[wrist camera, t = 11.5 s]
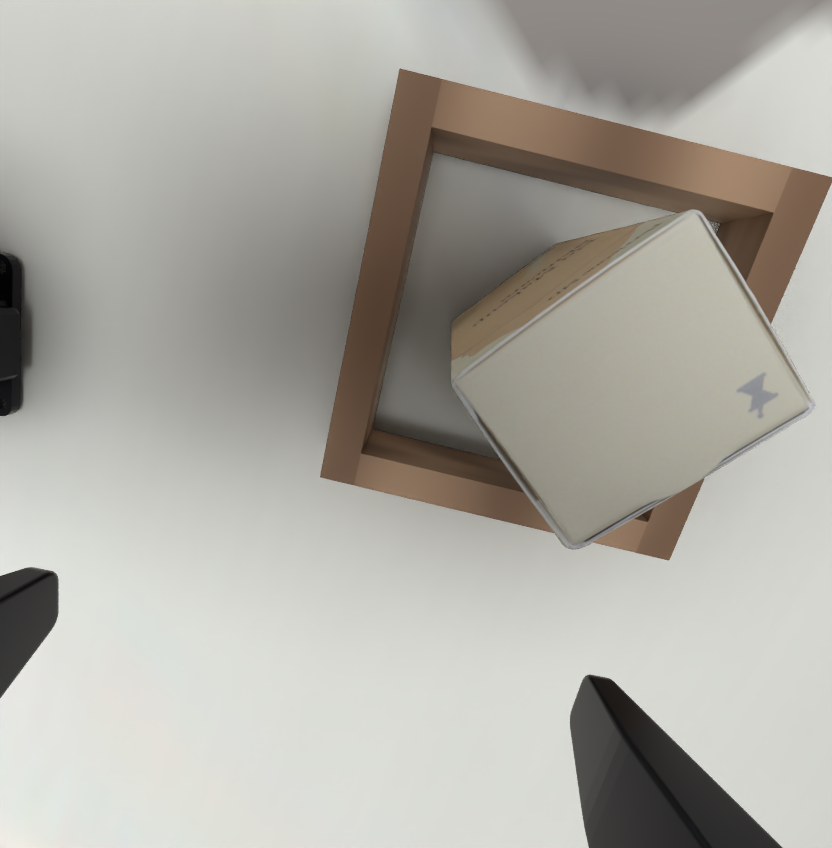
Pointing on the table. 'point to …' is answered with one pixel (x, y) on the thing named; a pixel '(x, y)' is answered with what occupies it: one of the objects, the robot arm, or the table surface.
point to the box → (623, 372)
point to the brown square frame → (567, 164)
